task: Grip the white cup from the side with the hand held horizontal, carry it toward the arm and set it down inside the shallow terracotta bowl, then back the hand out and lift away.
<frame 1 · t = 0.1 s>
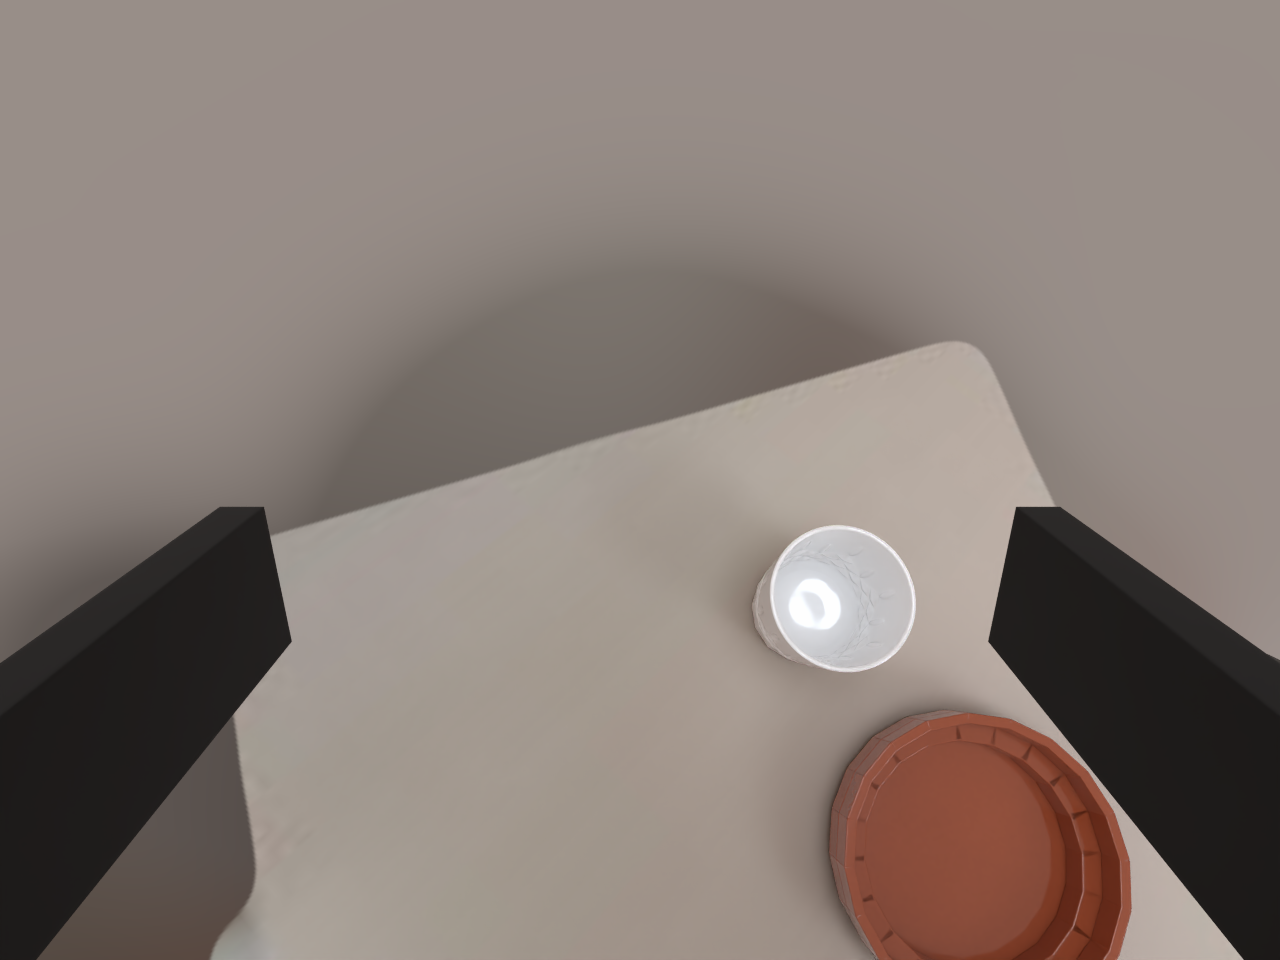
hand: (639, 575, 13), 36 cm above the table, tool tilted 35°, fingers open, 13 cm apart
bowl: (956, 846, 44), on the table
white cup: (800, 611, 48), on the table
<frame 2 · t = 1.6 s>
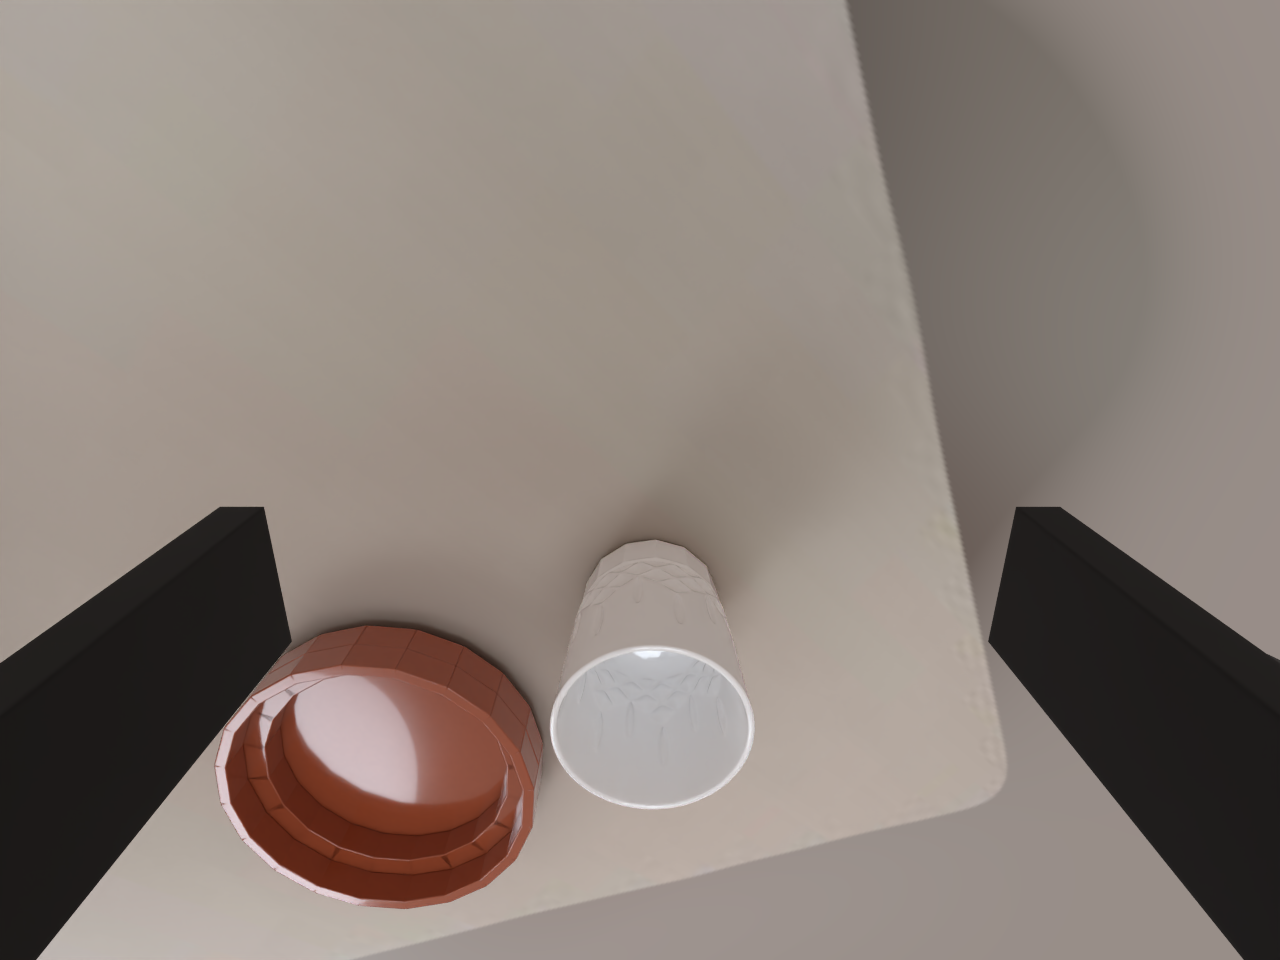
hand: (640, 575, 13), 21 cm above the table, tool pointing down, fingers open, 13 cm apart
bowl: (401, 741, 40), on the table
white cup: (650, 594, 37), on the table
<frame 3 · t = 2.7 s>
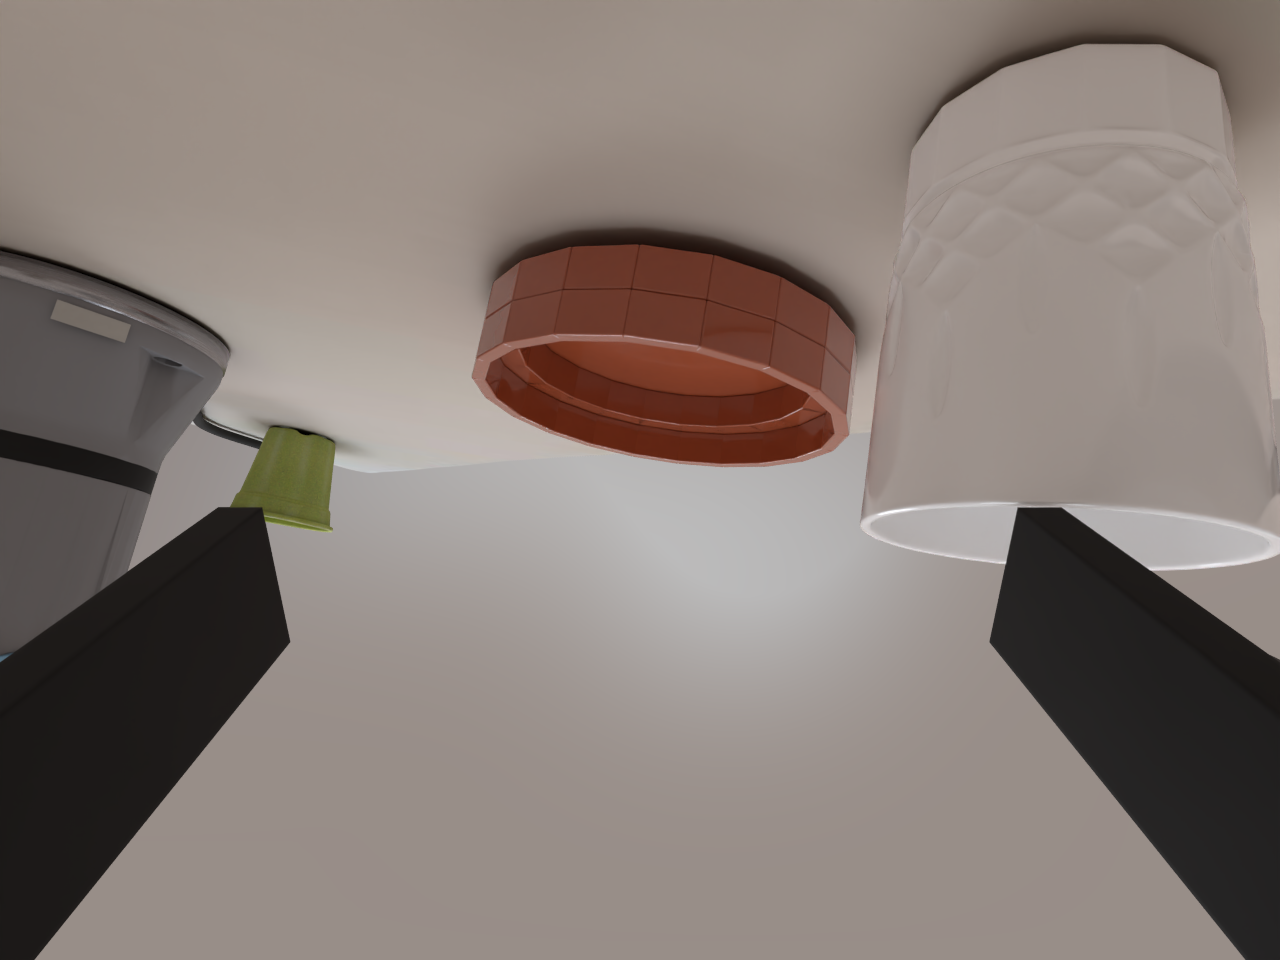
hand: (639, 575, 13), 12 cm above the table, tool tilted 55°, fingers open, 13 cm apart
plant pot: (304, 433, 69), on the table
bowl: (671, 332, 32), on the table
white cup: (1053, 140, 18), on the table, touching gripper
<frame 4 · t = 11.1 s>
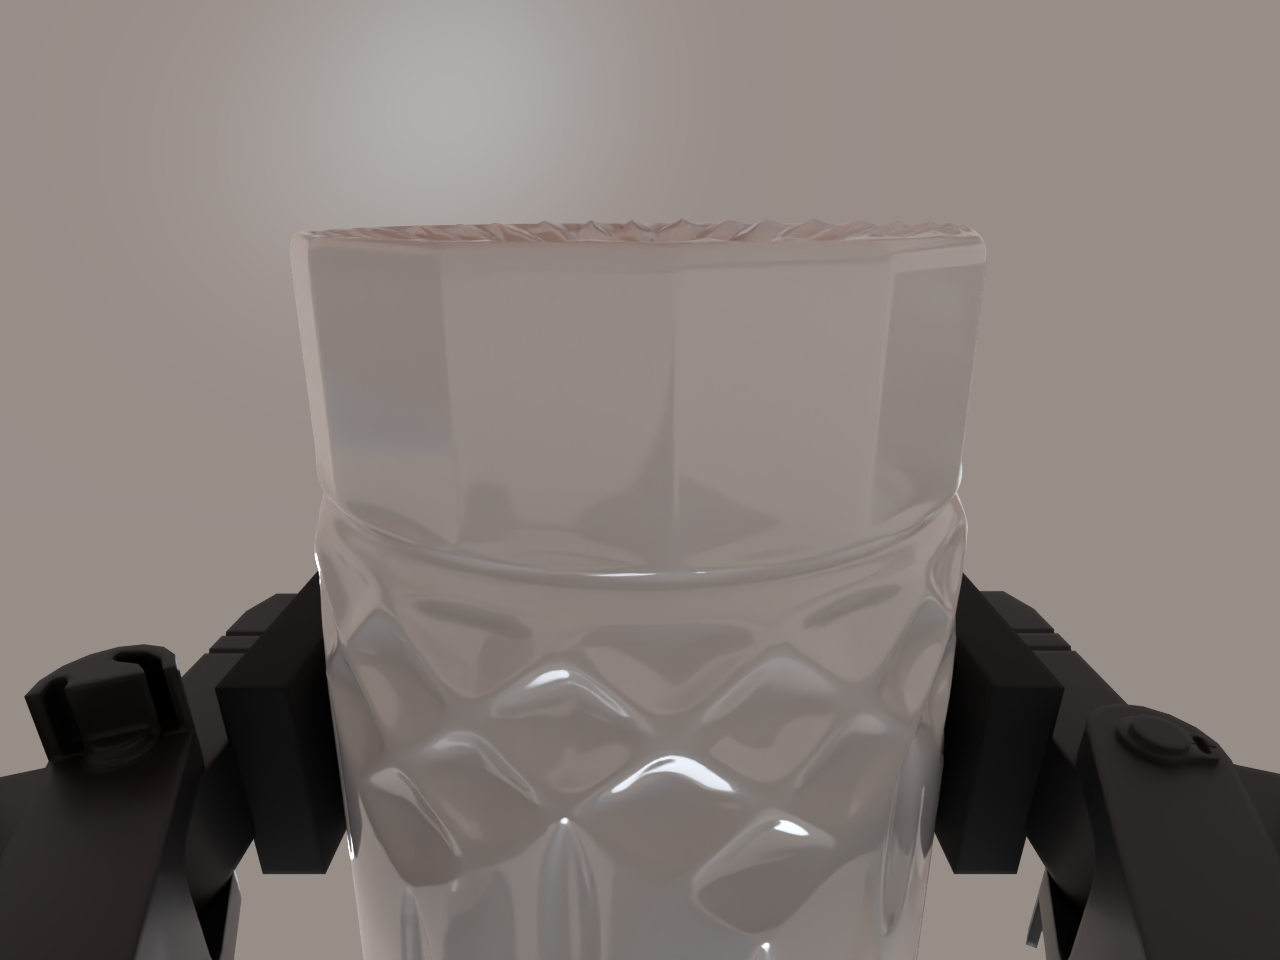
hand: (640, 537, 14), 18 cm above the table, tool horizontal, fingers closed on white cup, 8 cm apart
white cup: (639, 201, 7), point 12 cm above the table, touching gripper
when the fingers open (7 cm above the table, at t = 15.4 s): white cup stays where it is, resting on bowl.
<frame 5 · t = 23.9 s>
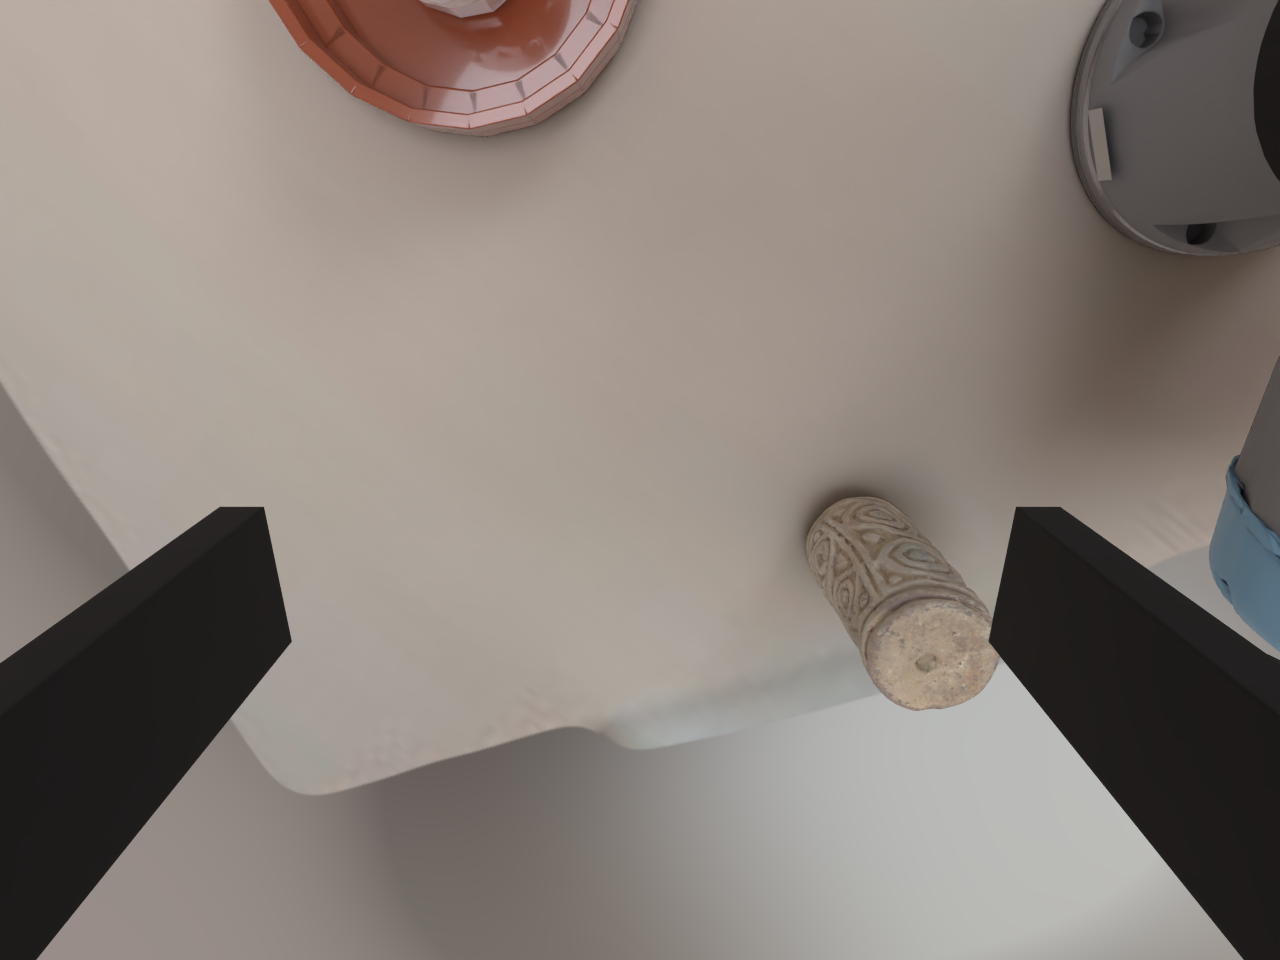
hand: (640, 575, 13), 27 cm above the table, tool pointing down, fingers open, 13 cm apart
carving: (855, 538, 42), on the table
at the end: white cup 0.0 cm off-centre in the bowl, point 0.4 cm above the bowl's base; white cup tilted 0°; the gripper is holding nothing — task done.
